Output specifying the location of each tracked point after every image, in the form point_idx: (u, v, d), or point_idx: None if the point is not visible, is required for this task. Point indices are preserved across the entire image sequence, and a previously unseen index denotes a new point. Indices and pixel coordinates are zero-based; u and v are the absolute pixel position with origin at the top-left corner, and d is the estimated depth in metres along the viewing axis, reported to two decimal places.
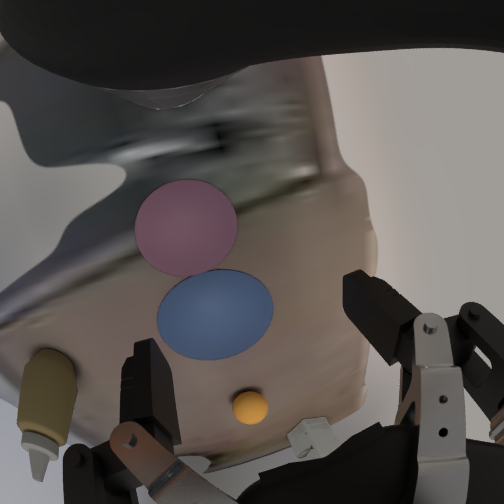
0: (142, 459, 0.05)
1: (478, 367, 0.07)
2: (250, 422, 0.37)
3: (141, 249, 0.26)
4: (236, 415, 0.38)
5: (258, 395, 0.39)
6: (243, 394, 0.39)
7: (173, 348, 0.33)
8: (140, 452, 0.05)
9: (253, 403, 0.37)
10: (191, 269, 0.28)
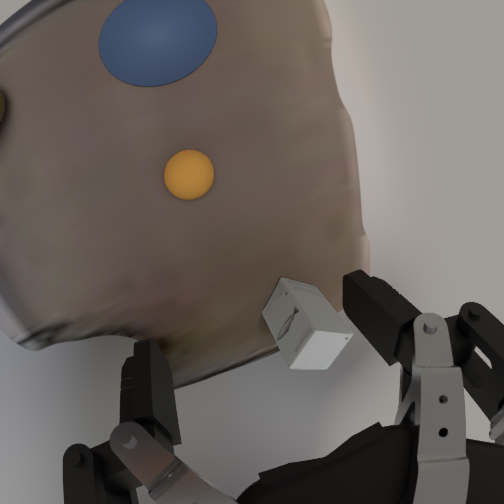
0: (142, 459, 0.05)
1: (478, 367, 0.07)
2: (183, 180, 0.27)
3: None
4: (166, 174, 0.28)
5: None
6: None
7: (107, 65, 0.23)
8: (140, 452, 0.05)
9: (190, 151, 0.28)
10: None
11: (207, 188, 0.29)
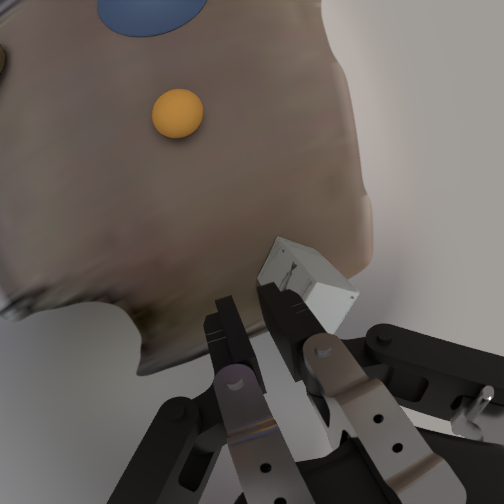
0: (257, 395, 0.07)
1: (406, 380, 0.08)
2: (170, 112, 0.24)
3: None
4: (153, 110, 0.25)
5: None
6: None
7: (104, 19, 0.20)
8: (240, 397, 0.07)
9: (179, 89, 0.25)
10: None
11: (195, 124, 0.26)
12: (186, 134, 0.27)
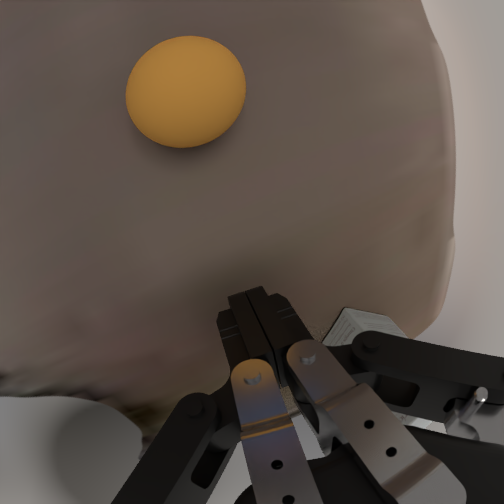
0: (276, 389, 0.07)
1: (396, 385, 0.08)
2: (169, 84, 0.09)
3: None
4: (129, 84, 0.09)
5: None
6: None
7: None
8: (257, 392, 0.07)
9: None
10: None
11: (230, 116, 0.11)
12: (207, 140, 0.12)
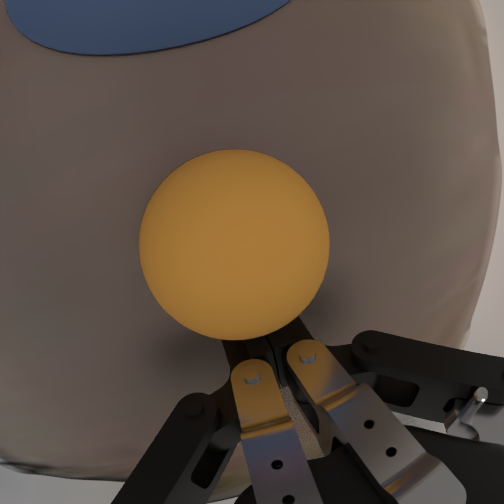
0: (275, 389, 0.07)
1: (396, 385, 0.08)
2: (189, 171, 0.06)
3: None
4: None
5: None
6: None
7: (14, 14, 0.04)
8: (256, 392, 0.07)
9: None
10: None
11: (308, 226, 0.06)
12: (277, 285, 0.06)
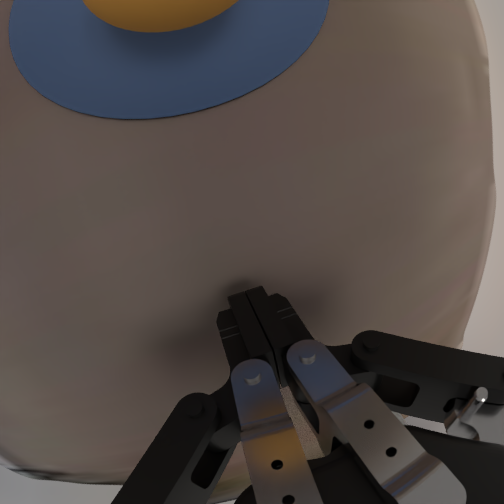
0: (276, 389, 0.07)
1: (396, 385, 0.08)
2: None
3: None
4: None
5: None
6: None
7: (22, 64, 0.06)
8: (256, 392, 0.07)
9: None
10: None
11: (232, 2, 0.05)
12: (191, 25, 0.06)
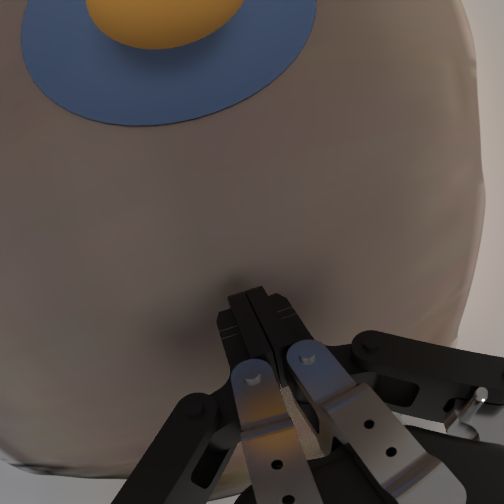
0: (276, 389, 0.07)
1: (396, 385, 0.08)
2: None
3: None
4: None
5: None
6: None
7: (35, 73, 0.07)
8: (257, 392, 0.07)
9: None
10: None
11: (224, 22, 0.07)
12: None
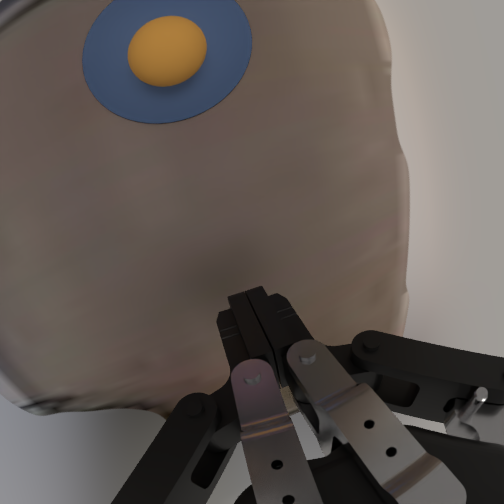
0: (276, 389, 0.07)
1: (396, 385, 0.08)
2: (160, 67, 0.14)
3: None
4: (131, 55, 0.13)
5: (189, 20, 0.14)
6: None
7: (94, 91, 0.17)
8: (256, 392, 0.07)
9: (175, 22, 0.12)
10: None
11: (194, 73, 0.16)
12: None
